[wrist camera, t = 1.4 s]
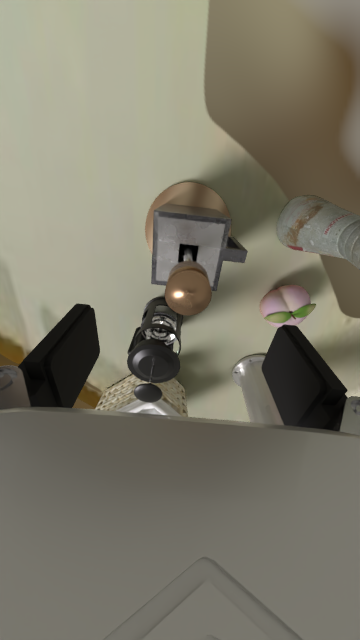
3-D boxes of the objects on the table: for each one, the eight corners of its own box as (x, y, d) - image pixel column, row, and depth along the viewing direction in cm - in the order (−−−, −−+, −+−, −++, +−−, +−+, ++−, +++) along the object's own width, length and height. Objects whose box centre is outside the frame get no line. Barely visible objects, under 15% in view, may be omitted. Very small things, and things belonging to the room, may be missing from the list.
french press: (174, 289, 46) (165, 362, 26) (192, 321, 50) (194, 405, 31) (130, 308, 49) (92, 387, 29) (150, 337, 53) (128, 423, 34)
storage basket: (159, 356, 57) (151, 403, 44) (192, 389, 63) (193, 438, 51) (99, 388, 65) (78, 436, 52) (134, 415, 71) (123, 463, 59)
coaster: (240, 188, 36) (241, 188, 35) (220, 277, 44) (221, 278, 43) (146, 176, 35) (145, 176, 34) (145, 268, 44) (144, 270, 43)
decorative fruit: (260, 318, 49) (275, 345, 41) (249, 290, 45) (263, 313, 37) (301, 302, 47) (327, 327, 38) (293, 270, 43) (319, 290, 34)
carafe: (235, 211, 37) (260, 222, 24) (224, 261, 41) (240, 293, 29) (165, 203, 36) (153, 210, 24) (162, 254, 41) (151, 283, 28)
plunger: (212, 222, 31) (239, 258, 14) (204, 264, 34) (220, 333, 18) (169, 217, 31) (147, 248, 14) (166, 260, 34) (146, 325, 18)
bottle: (311, 180, 35) (579, 160, 11) (332, 224, 38) (572, 282, 14) (265, 218, 38) (394, 266, 14) (288, 256, 41) (423, 345, 18)
